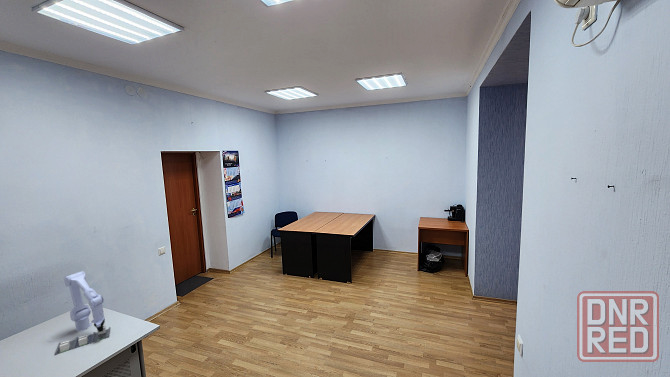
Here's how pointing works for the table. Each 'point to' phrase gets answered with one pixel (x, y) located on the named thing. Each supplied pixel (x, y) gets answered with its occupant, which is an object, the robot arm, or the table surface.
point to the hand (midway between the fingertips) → (100, 331)
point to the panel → (91, 339)
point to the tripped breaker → (102, 331)
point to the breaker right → (64, 346)
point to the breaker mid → (83, 340)
